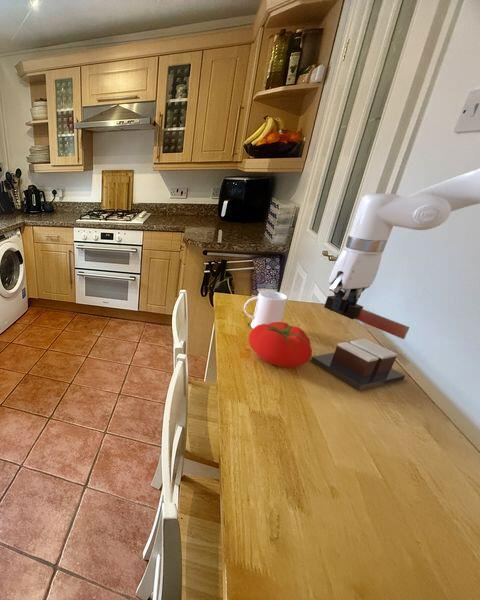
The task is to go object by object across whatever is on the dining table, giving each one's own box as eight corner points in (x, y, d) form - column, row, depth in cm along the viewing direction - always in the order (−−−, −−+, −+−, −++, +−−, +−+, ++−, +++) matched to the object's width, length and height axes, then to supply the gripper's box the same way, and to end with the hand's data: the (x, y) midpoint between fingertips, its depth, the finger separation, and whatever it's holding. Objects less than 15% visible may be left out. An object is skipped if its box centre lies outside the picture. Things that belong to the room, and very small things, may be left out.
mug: (240, 329, 106) (247, 296, 101) (239, 318, 113) (246, 287, 108) (281, 336, 102) (290, 302, 97) (277, 324, 109) (286, 292, 104)
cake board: (351, 353, 92) (353, 348, 92) (403, 380, 81) (405, 375, 80) (310, 361, 89) (312, 356, 88) (358, 390, 77) (361, 385, 77)
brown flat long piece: (323, 307, 91) (327, 296, 90) (330, 306, 92) (334, 295, 90) (400, 339, 74) (406, 326, 73) (407, 338, 75) (413, 325, 73)
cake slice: (340, 357, 88) (346, 341, 86) (371, 374, 81) (378, 357, 78) (332, 359, 87) (337, 343, 85) (362, 376, 80) (369, 359, 78)
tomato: (262, 375, 83) (271, 343, 79) (238, 343, 98) (244, 314, 94) (320, 377, 82) (331, 344, 78) (286, 344, 97) (294, 315, 93)
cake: (358, 354, 89) (364, 338, 87) (390, 370, 82) (398, 353, 80) (344, 356, 88) (350, 341, 86) (375, 373, 81) (383, 356, 79)
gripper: (373, 239, 85) (350, 302, 93) (326, 243, 82) (306, 308, 89) (405, 246, 79) (378, 312, 86) (356, 250, 75) (331, 320, 82)
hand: (341, 310), depth 88 cm, fingers closed on brown flat long piece, 2 cm apart
